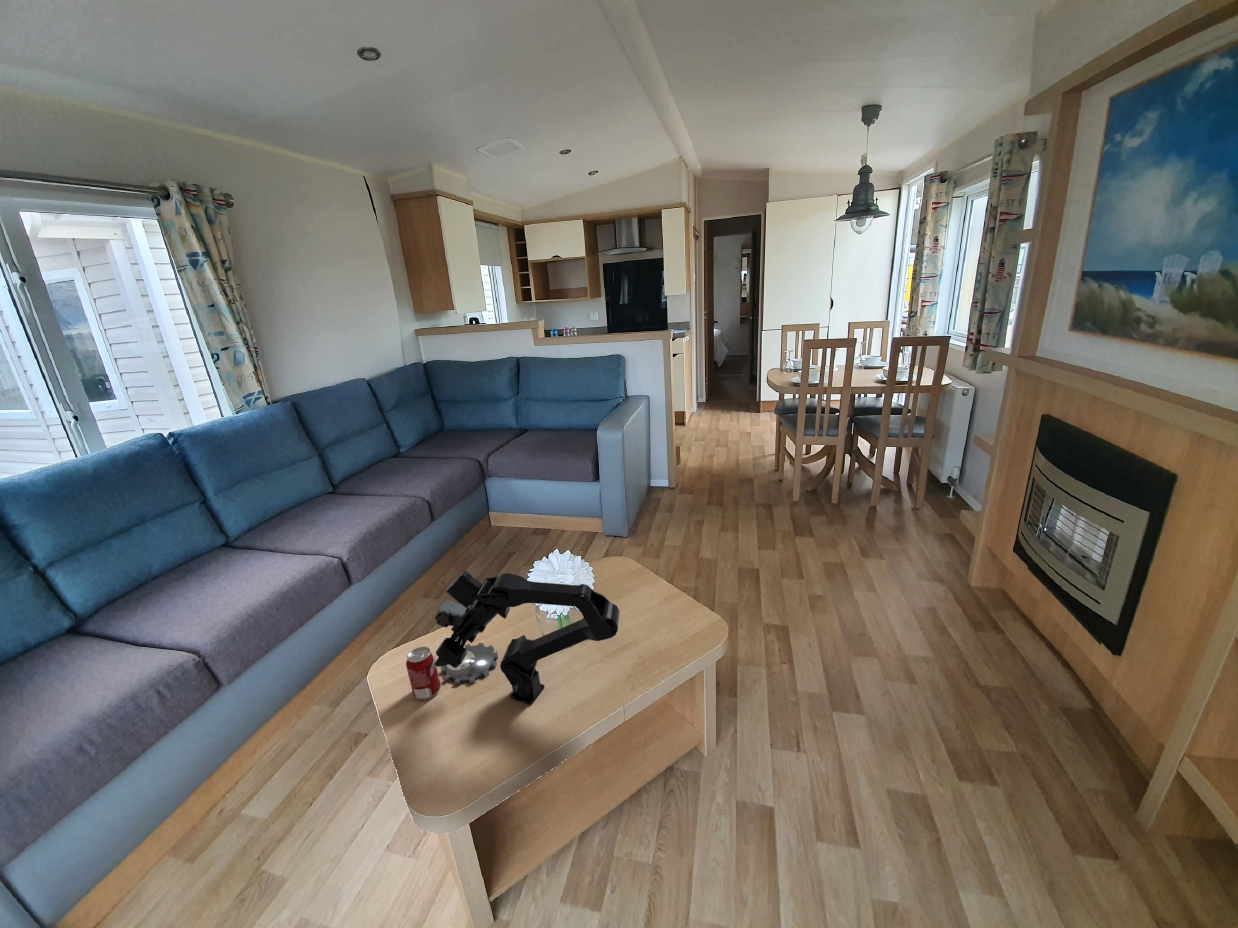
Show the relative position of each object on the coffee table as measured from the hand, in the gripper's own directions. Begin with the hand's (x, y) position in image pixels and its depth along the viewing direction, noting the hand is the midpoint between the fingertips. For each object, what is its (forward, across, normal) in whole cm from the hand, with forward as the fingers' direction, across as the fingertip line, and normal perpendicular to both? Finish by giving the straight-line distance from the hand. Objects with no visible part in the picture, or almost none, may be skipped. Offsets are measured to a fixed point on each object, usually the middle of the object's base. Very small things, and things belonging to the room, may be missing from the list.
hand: (443, 652), depth 123 cm
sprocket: (+8, -10, +10) cm, 16 cm away
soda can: (+14, 0, +4) cm, 14 cm away
